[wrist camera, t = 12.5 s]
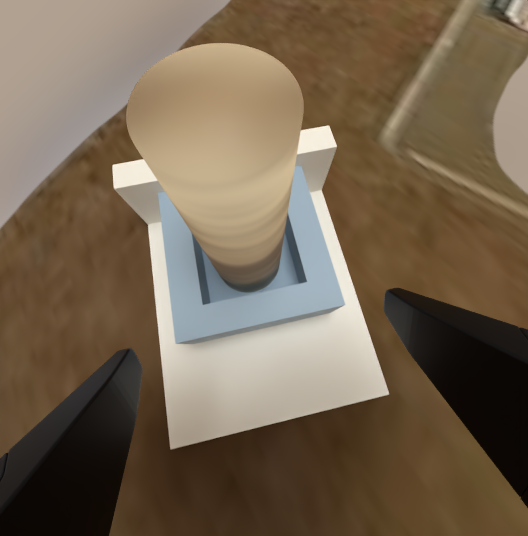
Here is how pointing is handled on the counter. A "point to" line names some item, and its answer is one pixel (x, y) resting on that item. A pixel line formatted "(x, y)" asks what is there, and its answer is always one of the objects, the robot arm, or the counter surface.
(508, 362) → the robot arm
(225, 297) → the socket block
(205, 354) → the white base plate
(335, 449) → the counter surface
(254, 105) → the dowel
